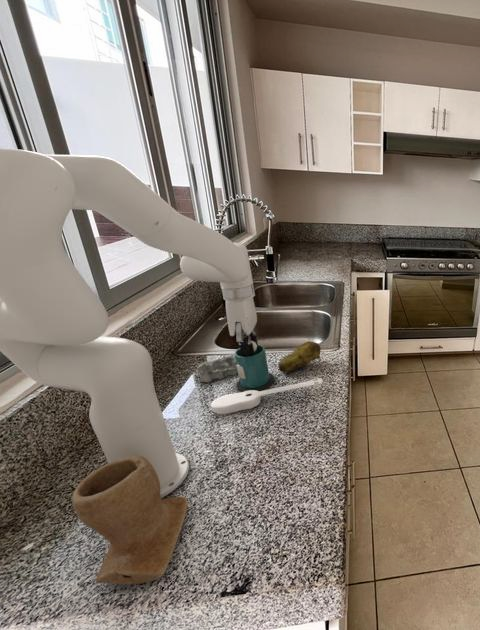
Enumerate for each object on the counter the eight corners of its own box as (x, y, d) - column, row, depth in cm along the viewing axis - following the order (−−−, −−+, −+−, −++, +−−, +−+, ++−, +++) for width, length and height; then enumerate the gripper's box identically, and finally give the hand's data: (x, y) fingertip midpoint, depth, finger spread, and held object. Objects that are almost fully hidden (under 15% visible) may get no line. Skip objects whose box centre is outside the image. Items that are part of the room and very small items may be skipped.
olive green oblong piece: (280, 363, 111) (276, 341, 108) (321, 358, 115) (319, 336, 112) (279, 377, 104) (275, 354, 101) (323, 370, 108) (321, 348, 105)
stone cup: (123, 513, 62) (94, 450, 56) (197, 498, 65) (177, 437, 59) (70, 608, 49) (26, 537, 43) (167, 583, 52) (138, 515, 46)
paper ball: (256, 355, 96) (254, 343, 94) (242, 356, 95) (240, 344, 94) (259, 349, 99) (257, 338, 98) (245, 350, 98) (243, 338, 97)
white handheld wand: (321, 383, 102) (321, 374, 100) (325, 393, 97) (324, 385, 96) (214, 405, 91) (211, 396, 90) (211, 419, 86) (209, 409, 85)
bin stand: (270, 391, 97) (270, 389, 97) (232, 394, 95) (232, 392, 95) (277, 372, 106) (276, 370, 106) (242, 375, 104) (242, 373, 104)
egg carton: (200, 385, 99) (197, 373, 98) (198, 373, 105) (195, 361, 103) (241, 374, 105) (238, 362, 103) (237, 363, 110) (234, 352, 109)
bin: (240, 390, 96) (233, 359, 92) (241, 376, 102) (235, 346, 98) (269, 385, 99) (264, 354, 95) (269, 371, 105) (264, 342, 101)
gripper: (232, 282, 97) (244, 340, 104) (211, 303, 82) (226, 369, 89) (260, 281, 98) (270, 338, 105) (245, 301, 83) (257, 366, 90)
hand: (250, 351), depth 97 cm, fingers closed on paper ball, 3 cm apart
